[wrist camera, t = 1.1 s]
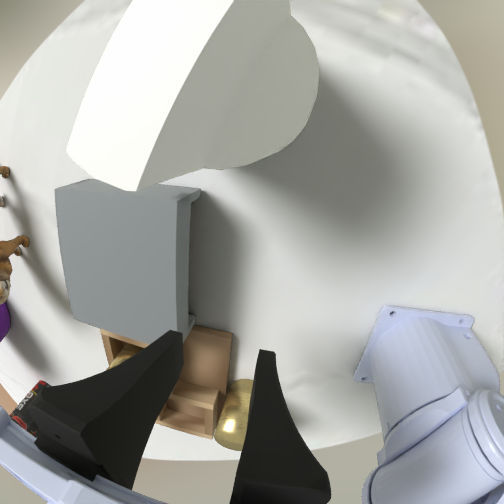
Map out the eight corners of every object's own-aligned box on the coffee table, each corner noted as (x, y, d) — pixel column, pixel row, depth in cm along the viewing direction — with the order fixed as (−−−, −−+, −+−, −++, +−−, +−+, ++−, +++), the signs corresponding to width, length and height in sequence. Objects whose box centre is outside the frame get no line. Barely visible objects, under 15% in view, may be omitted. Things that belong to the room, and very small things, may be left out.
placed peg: (160, 342, 24) (130, 388, 19) (163, 369, 26) (138, 414, 20) (126, 331, 25) (92, 373, 19) (131, 359, 26) (102, 400, 21)
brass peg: (269, 383, 25) (259, 434, 20) (263, 405, 26) (254, 453, 21) (230, 375, 25) (214, 425, 20) (228, 398, 27) (213, 445, 21)
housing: (200, 188, 19) (177, 200, 16) (195, 321, 23) (178, 352, 20) (88, 179, 20) (54, 189, 17) (98, 296, 24) (73, 318, 21)
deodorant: (58, 407, 38) (17, 463, 24) (35, 383, 36) (-10, 436, 22) (69, 404, 36) (24, 466, 22) (44, 377, 34) (-6, 437, 20)
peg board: (232, 333, 23) (224, 355, 21) (224, 424, 29) (218, 443, 26) (108, 302, 25) (92, 318, 22) (129, 396, 30) (119, 412, 28)
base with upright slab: (216, 17, 15) (128, -78, 4) (338, 70, 15) (388, -22, 4) (157, 126, 18) (18, 131, 7) (270, 185, 19) (225, 254, 8)
